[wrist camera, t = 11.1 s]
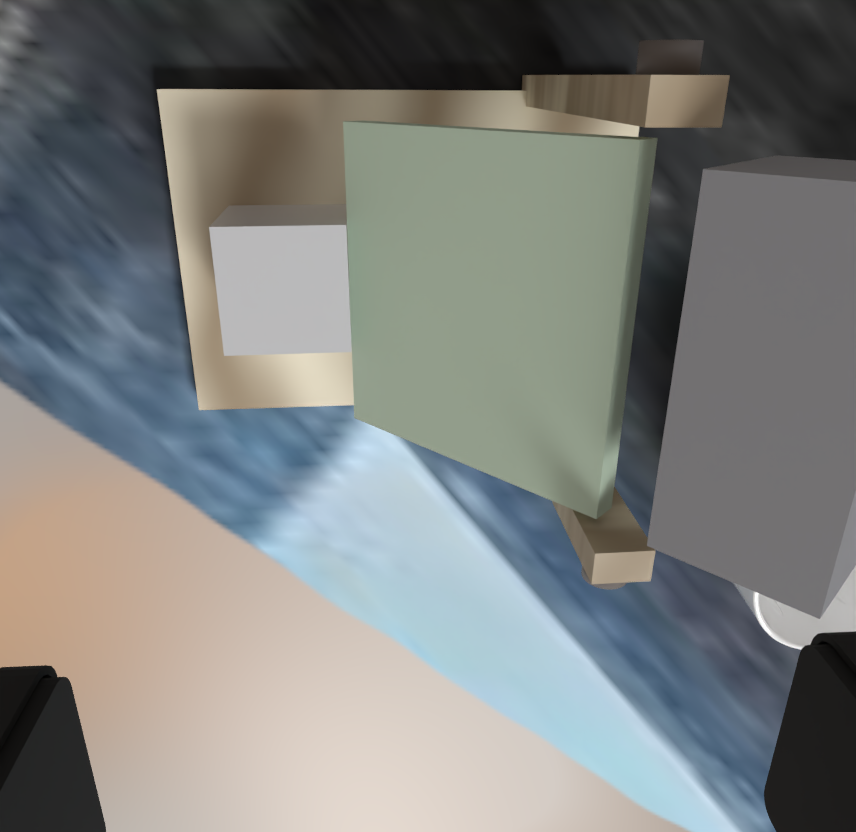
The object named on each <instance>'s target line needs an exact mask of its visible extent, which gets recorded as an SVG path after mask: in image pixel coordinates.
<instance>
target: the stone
mask: <svg viewBox="0 0 856 832" xmlns="http://www.w3.org/2000/svg"><path fill="white" fill-rule="evenodd" d="M209 231H210V240H211V248H212V257H213V266H214V274H215V283H216V291H217V300H218V308H219V317H220V325H221V334H222V342H223V351H224V356H237V355H270V354H303V353H337V352H352V340H351V315H350V289H349V263H348V237H347V211H346V204H310V205H233V206H228V207H227V208H226V209H225V210H224V211H223V212H222V214H221V215H220V216H219V217H218V218H217V219H216V220H215V221H214V222H213V223H212V224H211V225H210V226H209Z"/></svg>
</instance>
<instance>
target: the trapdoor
mask: <svg viewBox="0 0 856 832" xmlns="http://www.w3.org/2000/svg"><path fill="white" fill-rule="evenodd" d="M343 133H344V159H345V185H346V211H347V237H348V263H349V289H350V315H351V340H352V367H353V393H354V418H356V419H358V420H361V421H363V422H365V423H368V424H370V425H373V426H375V427H377V428H380V429H382V430H384V431H387V432H389V433H392V434H394V435H396V436H399V437H401V438H404V439H406V440H408V441H411V442H413V443H415V444H418V445H420V446H423V447H425V448H427V449H430V450H432V451H435V452H437V453H439V454H442V455H444V456H446V457H449V458H451V459H454V460H456V461H458V462H461V463H463V464H466V465H468V466H470V467H473V468H475V469H478V470H480V471H482V472H485V473H487V474H489V475H492V476H494V477H497V478H499V479H501V480H504V481H506V482H509V483H511V484H513V485H516V486H518V487H520V488H523V489H525V490H528V491H530V492H532V493H535V494H537V495H540V496H542V497H544V498H547V499H549V500H551V501H554V502H556V503H559V504H561V505H563V506H566V507H568V508H571V509H573V510H575V511H578V512H580V513H583V514H585V515H587V516H590V517H592V518H594V519H597V518H599V517H600V516H601V515H603V514H604V513H605V512H607V511H608V510H609V509H611V508H612V500H613V492H614V484H615V476H616V468H617V460H618V452H619V444H620V436H621V428H622V420H623V412H624V404H625V396H626V388H627V379H628V371H629V363H630V355H631V347H632V339H633V331H634V323H635V315H636V307H637V299H638V291H639V283H640V275H641V267H642V259H643V250H644V242H645V234H646V226H647V218H648V210H649V202H650V194H651V186H652V178H653V170H654V162H655V154H656V146H657V138H648V137H631V136H615V135H598V134H581V133H564V132H548V131H531V130H514V129H497V128H481V127H464V126H447V125H430V124H414V123H397V122H380V121H343ZM647 546H648V547H651V548H653V549H655V550H658V551H660V552H662V553H665V554H667V555H670V556H672V557H674V558H677V559H679V560H681V561H684V562H686V563H688V564H691V565H693V566H695V567H698V568H700V569H703V570H705V571H707V572H710V573H712V574H714V575H717V576H719V577H721V578H724V579H726V580H728V581H731V582H733V583H736V584H738V585H740V586H743V587H745V588H747V589H750V590H752V591H754V592H757V593H759V594H762V595H764V596H766V597H769V598H771V599H773V600H776V601H778V602H780V603H783V604H785V605H787V606H790V607H792V608H795V609H797V610H799V611H802V612H804V613H806V614H809V615H811V616H813V617H816V618H818V619H820V618H821V617H822V615H823V614H824V612H825V611H826V609H827V608H828V606H829V605H830V603H831V602H832V600H833V599H834V597H835V596H836V594H837V593H838V591H839V590H840V588H841V587H842V585H843V584H844V582H845V581H846V579H847V578H848V576H849V575H850V573H851V572H852V570H853V569H854V567H855V566H856V161H852V160H837V159H822V158H807V157H793V156H778V155H777V156H771V157H766V158H761V159H755V160H750V161H745V162H739V163H734V164H728V165H723V166H718V167H712V168H707V169H703V175H702V181H701V188H700V195H699V201H698V208H697V215H696V221H695V228H694V235H693V241H692V248H691V255H690V261H689V268H688V275H687V281H686V288H685V295H684V301H683V308H682V315H681V321H680V328H679V335H678V341H677V348H676V355H675V361H674V368H673V375H672V381H671V388H670V395H669V401H668V408H667V414H666V421H665V428H664V434H663V441H662V448H661V454H660V461H659V468H658V474H657V481H656V488H655V494H654V501H653V508H652V514H651V521H650V528H649V534H648V541H647Z"/></svg>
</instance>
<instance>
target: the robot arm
mask: <svg viewBox="0 0 856 832" xmlns="http://www.w3.org/2000/svg"><path fill="white" fill-rule="evenodd" d="M764 799H765V805H766V809H767V813H768V816H769V818H770V820H771V822H772V824H773V826H774V828H775V830H776V832H856V631H855V632H831V633H819V634H817V635H816V636H815V637H814V638H813V640H812V642H811V644H810V645H805V646H804V647H803V648H802V650H801V652H800V655H799V659H798V663H797V667H796V670H795V674H794V678H793V682H792V686H791V690H790V693H789V697H788V701H787V705H786V709H785V713H784V716H783V720H782V724H781V728H780V732H779V736H778V739H777V743H776V747H775V751H774V755H773V759H772V762H771V766H770V770H769V774H768V778H767V781H766V785H765V791H764ZM0 832H106V827H105V822H104V818H103V814H102V809H101V806H100V801H99V797H98V794H97V789H96V785H95V781H94V776H93V772H92V768H91V765H90V760H89V756H88V752H87V748H86V744H85V740H84V736H83V731H82V727H81V723H80V719H79V715H78V711H77V707H76V703H75V699H74V694H73V690H72V687H71V683H70V681H69V679H68V678H66V677H57V674H56V672H55V670H54V669H53V668H52V666H23V667H2V668H0Z"/></svg>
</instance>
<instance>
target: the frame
mask: <svg viewBox="0 0 856 832" xmlns="http://www.w3.org/2000/svg"><path fill="white" fill-rule="evenodd" d="M703 44H704V41H703V40H645V41H639V50H638V59H637V69H636V75H523V77H522V90H311V89H157V95H158V103H159V110H160V118H161V125H162V133H163V140H164V148H165V156H166V163H167V171H168V178H169V186H170V194H171V201H172V209H173V216H174V224H175V231H176V239H177V247H178V254H179V262H180V269H181V277H182V285H183V292H184V300H185V307H186V315H187V322H188V330H189V338H190V345H191V353H192V360H193V368H194V376H195V383H196V391H197V398H198V406H199V410H217V409H247V408H278V407H309V406H339V405H354V393H353V367H352V352H337V353H303V354H270V355H237V356H224V351H223V342H222V334H221V325H220V317H219V308H218V300H217V291H216V283H215V274H214V266H213V257H212V248H211V240H210V231H209V226H210V225H211V224H212V223H213V222H214V221H215V220H216V219H217V218H218V217H219V216H220V215H221V214H222V212H223V211H224V210H225V209H226V208H227V207H228V206H233V205H310V204H346V185H345V159H344V133H343V121H380V122H397V123H414V124H430V125H447V126H464V127H481V128H497V129H514V130H531V131H548V132H564V133H581V134H598V135H615V136H631V137H638V133H639V126H640V127H722V121H723V115H724V109H725V102H726V96H727V89H728V83H729V77H730V75H699V72H700V65H701V58H702V51H703ZM552 502H553V504H554V506H555V509H556V511H557V513H558V515H559V517H560V519H561V521H562V523H563V525H564V528H565V530H566V532H567V534H568V536H569V538H570V540H571V542H572V544H573V546H574V549H575V551H576V553H577V555H578V557H579V559H580V561H581V563H582V572H581V573H582V577H583V578H584V580H585V581H586V582H588V583H589V584H591V585H593V586H595V587H598V588H602V589H617V588H620V587H623V586H624V585H625V584H626V583H627V582H643V581H651V576H652V569H653V563H654V556H655V549H653V548H651V547H648V546H647V541H648V538H647V537H646V535H645V534H644V532H643V531H642V529H641V527H640V526H639V524H638V523H637V521H636V520H635V518H634V517H633V515H632V514H631V512H630V510H629V509H628V507H627V506H626V504H625V503H624V501H623V500H622V498H621V496H620V495H619V493H618V492H617V490H616V489H615V487H614V492H613V500H612V508H611V509H609V510H608V511H607V512H605V513H604V514H603V515H601V516H600V517H599V518H597V519H594V518H592V517H590V516H587V515H585V514H583V513H580V512H578V511H575V510H573V509H571V508H568V507H566V506H563V505H561V504H559V503H556V502H554V501H552Z"/></svg>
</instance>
